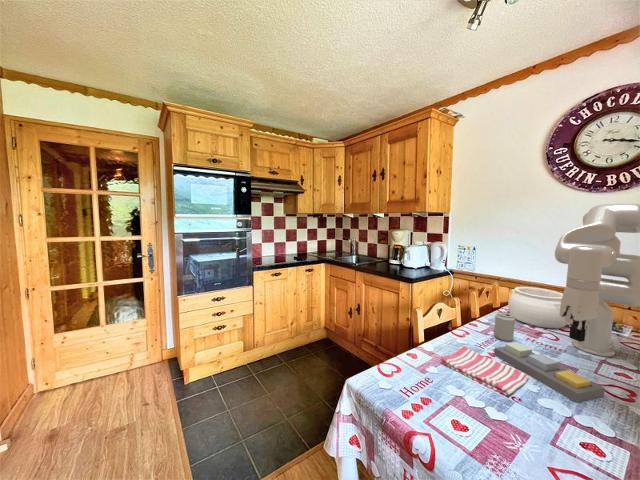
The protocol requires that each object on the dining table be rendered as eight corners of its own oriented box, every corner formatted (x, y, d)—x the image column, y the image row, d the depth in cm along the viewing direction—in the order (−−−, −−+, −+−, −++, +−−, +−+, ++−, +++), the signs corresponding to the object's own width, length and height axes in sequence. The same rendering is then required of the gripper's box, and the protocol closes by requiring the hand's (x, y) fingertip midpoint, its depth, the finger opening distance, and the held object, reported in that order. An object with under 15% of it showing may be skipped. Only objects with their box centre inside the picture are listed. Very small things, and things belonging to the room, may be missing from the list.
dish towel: (461, 351, 108) (462, 343, 108) (529, 381, 89) (530, 371, 89) (439, 364, 99) (439, 355, 98) (510, 400, 80) (511, 389, 79)
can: (516, 342, 116) (518, 317, 115) (498, 341, 117) (500, 315, 116) (508, 335, 123) (510, 311, 122) (490, 333, 125) (492, 310, 124)
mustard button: (567, 378, 88) (568, 370, 88) (589, 389, 82) (590, 380, 82) (554, 380, 86) (555, 372, 86) (576, 392, 81) (577, 383, 80)
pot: (494, 313, 153) (496, 286, 151) (528, 309, 159) (530, 284, 158) (546, 334, 125) (549, 301, 124) (585, 329, 132) (588, 298, 130)
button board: (516, 351, 108) (517, 344, 108) (603, 396, 81) (604, 387, 81) (494, 354, 105) (494, 348, 105) (576, 402, 78) (577, 393, 78)
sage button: (516, 349, 105) (516, 342, 105) (531, 356, 99) (532, 349, 99) (504, 350, 104) (505, 343, 103) (519, 358, 98) (520, 351, 98)
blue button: (539, 361, 96) (540, 353, 96) (558, 370, 91) (558, 362, 90) (527, 363, 95) (528, 355, 95) (545, 372, 89) (546, 364, 89)
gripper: (584, 280, 87) (578, 332, 89) (552, 282, 83) (546, 336, 85) (614, 286, 80) (607, 342, 81) (580, 289, 76) (574, 347, 78)
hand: (576, 339), depth 83 cm, fingers closed
